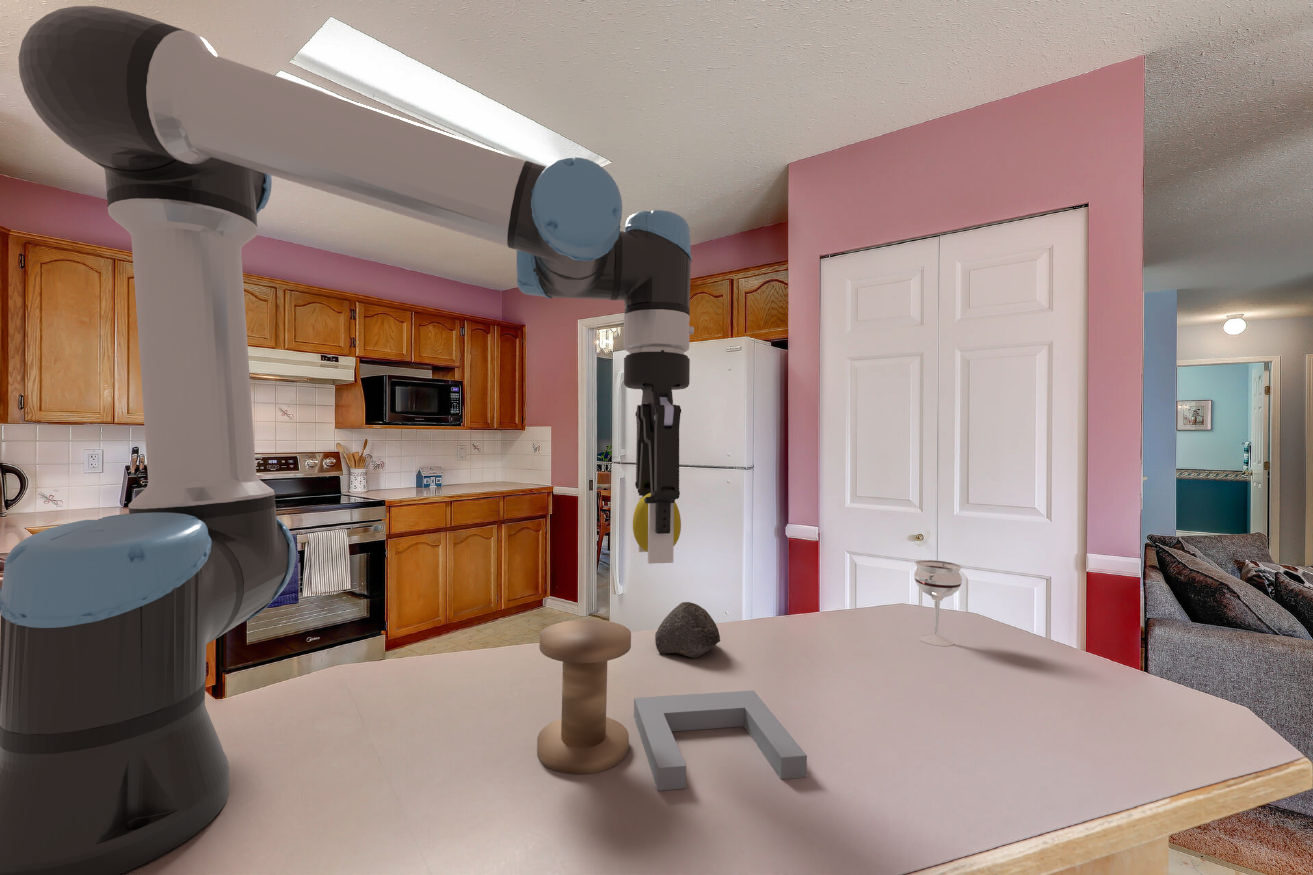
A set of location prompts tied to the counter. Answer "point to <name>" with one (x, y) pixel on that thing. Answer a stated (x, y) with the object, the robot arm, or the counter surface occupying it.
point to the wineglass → (937, 589)
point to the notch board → (707, 713)
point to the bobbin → (584, 697)
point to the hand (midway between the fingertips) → (654, 556)
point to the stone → (687, 631)
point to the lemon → (642, 523)
